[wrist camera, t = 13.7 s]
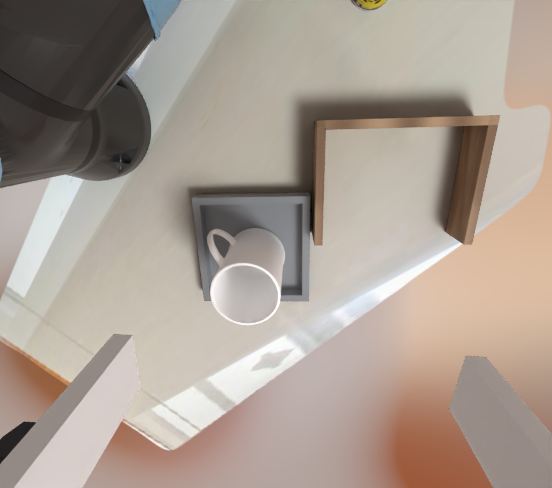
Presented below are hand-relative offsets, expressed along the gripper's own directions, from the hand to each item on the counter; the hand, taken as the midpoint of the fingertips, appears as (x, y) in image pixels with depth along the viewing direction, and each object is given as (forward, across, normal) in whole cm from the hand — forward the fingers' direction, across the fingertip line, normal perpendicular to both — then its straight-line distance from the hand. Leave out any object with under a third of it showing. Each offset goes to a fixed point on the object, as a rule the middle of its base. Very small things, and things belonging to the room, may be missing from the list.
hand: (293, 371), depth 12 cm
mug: (+32, -6, -7) cm, 34 cm away
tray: (+33, -5, -8) cm, 34 cm away
